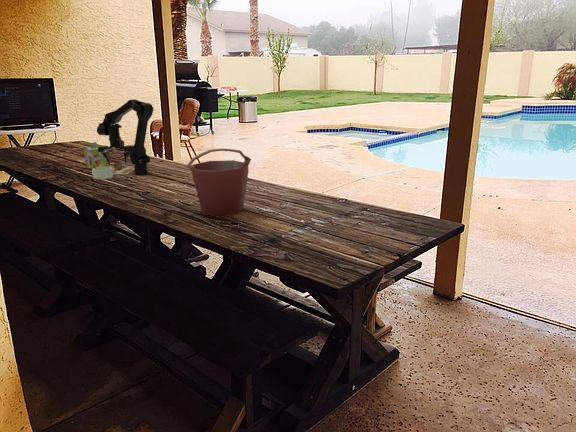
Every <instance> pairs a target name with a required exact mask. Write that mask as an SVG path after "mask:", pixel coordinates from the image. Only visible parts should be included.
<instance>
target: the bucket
mask: <svg viewBox="0 0 576 432" xmlns="http://www.w3.org/2000/svg"><path fill="white" fill-rule="evenodd" d="M222 151H223V152H233V153H238V154H239V155H240V156H241V157H242V158H243V159H244V161H239V160H235V159H233V160H232V159H230V160H228V159H227V160H207V161H203V162H199V163H194V162H195V161H196V160H199V159H200V158H201V157H203V156H205V155H208V154H210V153H214V152H222ZM251 160H252V159H251V158H250V157H249V156H247V155H245V154H244V153H243V151H241V150H239V149H235V148H234V149H233V148H213V149H208V150H205V151H203V152H201V153H199V154H198V155H196V156H193V157H192V158H191V159H190V161H189V162H188V163H187V168H188V169H189V170H190V171H191V175H192V180H193V183H194V186H195V187H194V188H195V191H196V194H197V195H196V196H197V197H198V202H199V205H200V210H201V213H202V215H203V216H205V215H210V216H209V217H214V216H219V217H218V218H222V217H221V216H224V217H228V216H227V215H230V216H234V215H233V214H236V215H239V214H240V213H241V212H242V210H244V206H245V205H244V204H245V198H246V190H247V184H248V178H249V171H250V170H249V165H250V163H251Z"/></svg>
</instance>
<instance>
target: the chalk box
mask: <svg viewBox="0 0 576 432" xmlns="http://www.w3.org/2000/svg"><path fill="white" fill-rule="evenodd" d="M93 145H94V146H93ZM98 147H99V146H98V144H97V142H95V141H94V142H89V147H88V148H83V154H84V160H85V168H86V169H91V170H92V169H93V168H97V167H109V166H108V161H107V160H106V158H105V157H104V155H103V154H101V152H98Z"/></svg>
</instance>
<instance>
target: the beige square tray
mask: <svg viewBox="0 0 576 432" xmlns="http://www.w3.org/2000/svg"><path fill="white" fill-rule="evenodd" d="M112 169H113V175H124V174H123V173H128V172H129V171H131V170H133V169H134V167H123V164H122V162H121V161H119V162H113V167H112ZM133 171H134V170H133ZM131 172H132V171H131ZM128 174H129V173H128Z"/></svg>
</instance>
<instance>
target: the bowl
mask: <svg viewBox="0 0 576 432" xmlns="http://www.w3.org/2000/svg"><path fill="white" fill-rule="evenodd" d="M112 168H113V167H111V166H108V167H97V168H93V169H91V172H92V178H93V179H94V180H105V179H106V180H107V179H111V178H113V177H114V174H113V169H112Z"/></svg>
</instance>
